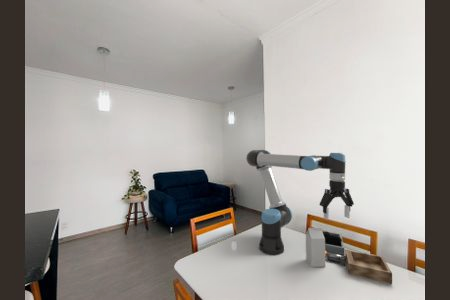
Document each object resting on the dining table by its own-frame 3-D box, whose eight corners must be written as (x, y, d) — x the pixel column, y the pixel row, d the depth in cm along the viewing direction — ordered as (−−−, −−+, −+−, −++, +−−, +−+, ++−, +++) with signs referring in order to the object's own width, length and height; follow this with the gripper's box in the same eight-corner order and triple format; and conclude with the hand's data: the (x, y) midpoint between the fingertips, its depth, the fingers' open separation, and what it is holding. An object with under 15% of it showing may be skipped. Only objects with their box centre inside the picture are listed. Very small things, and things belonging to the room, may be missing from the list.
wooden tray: (349, 273, 92) (348, 263, 92) (345, 258, 106) (345, 249, 106) (392, 284, 85) (392, 273, 85) (382, 265, 98) (382, 256, 98)
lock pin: (324, 258, 104) (324, 252, 104) (324, 255, 107) (324, 249, 107) (345, 263, 99) (345, 256, 100) (345, 260, 103) (344, 253, 103)
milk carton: (325, 267, 98) (324, 230, 98) (311, 267, 98) (311, 230, 98) (318, 259, 105) (318, 225, 105) (306, 259, 105) (305, 225, 105)
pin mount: (327, 262, 102) (327, 255, 102) (327, 256, 108) (327, 250, 108) (345, 265, 99) (344, 259, 99) (343, 260, 104) (343, 253, 104)
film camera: (339, 243, 122) (339, 229, 122) (342, 251, 113) (343, 236, 113) (313, 239, 127) (313, 226, 127) (315, 246, 118) (315, 232, 118)
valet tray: (314, 250, 114) (314, 242, 114) (315, 236, 132) (315, 229, 132) (344, 256, 107) (344, 248, 107) (341, 241, 125) (340, 233, 125)
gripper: (322, 182, 98) (321, 222, 99) (361, 180, 103) (361, 219, 103) (312, 179, 106) (312, 217, 106) (350, 178, 111) (349, 214, 111)
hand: (336, 218), depth 105 cm, fingers open, 13 cm apart
